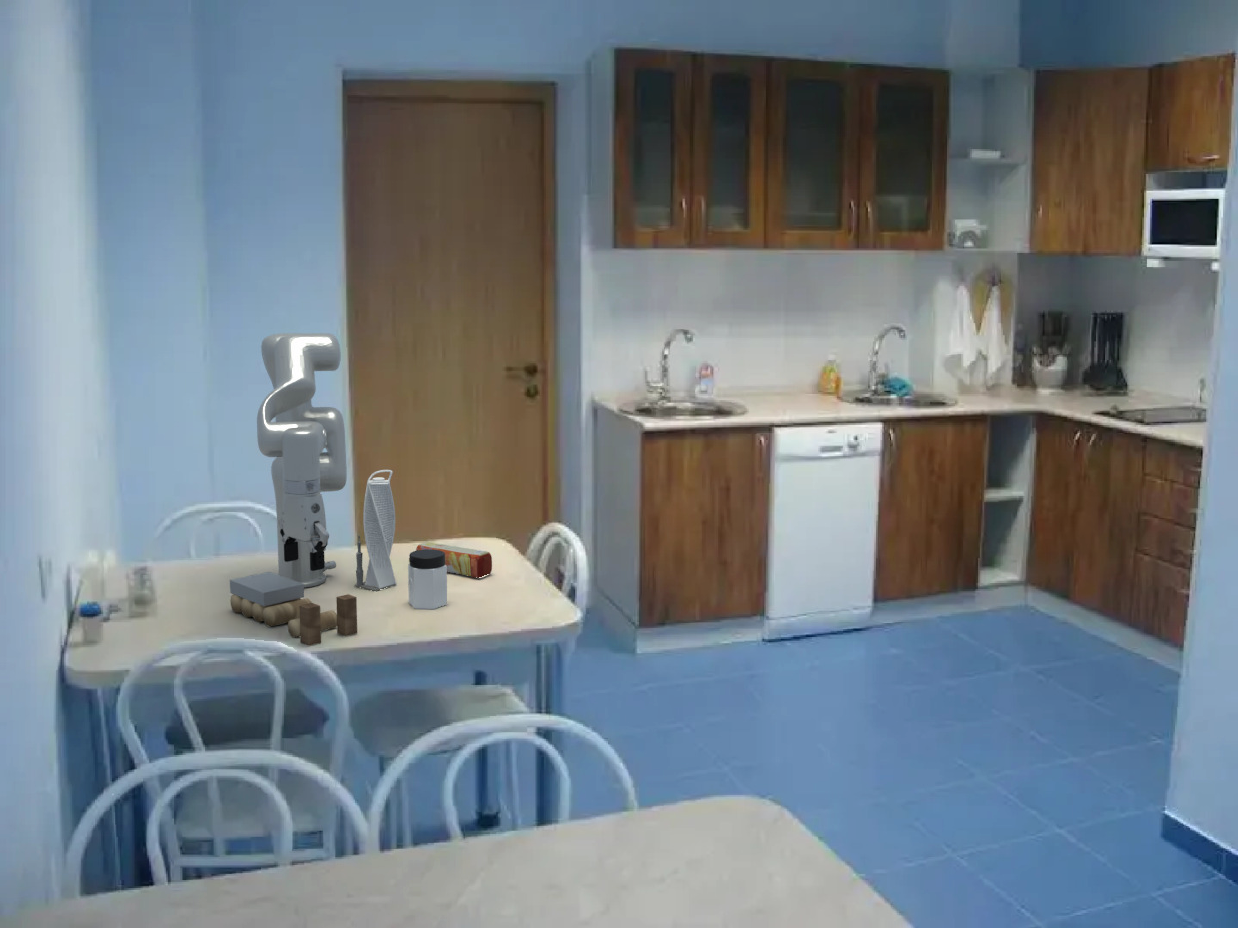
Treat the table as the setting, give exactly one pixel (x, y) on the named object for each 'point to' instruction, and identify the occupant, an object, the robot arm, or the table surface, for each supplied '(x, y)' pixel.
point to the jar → (427, 579)
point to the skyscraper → (377, 534)
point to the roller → (326, 623)
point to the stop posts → (312, 621)
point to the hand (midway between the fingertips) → (304, 565)
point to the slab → (266, 588)
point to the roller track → (268, 610)
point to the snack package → (462, 559)
